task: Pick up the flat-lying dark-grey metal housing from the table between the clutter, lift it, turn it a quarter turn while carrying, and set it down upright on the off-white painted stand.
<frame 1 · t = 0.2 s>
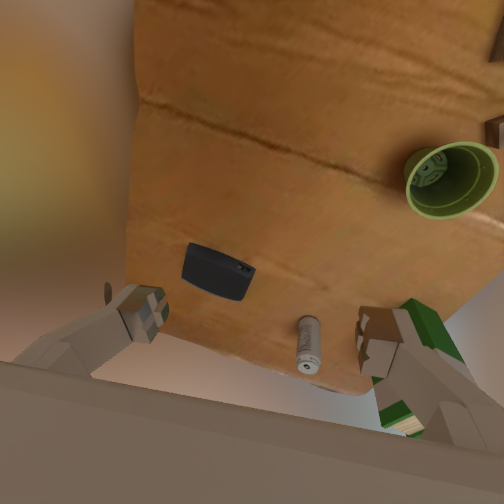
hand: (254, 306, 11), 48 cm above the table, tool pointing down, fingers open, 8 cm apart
external hard drive: (218, 270, 73), on the table
plant pot: (423, 166, 48), on the table
walnut block: (500, 128, 43), on the table
energy drink can: (309, 321, 75), on the table
hardback book: (397, 323, 69), on the table
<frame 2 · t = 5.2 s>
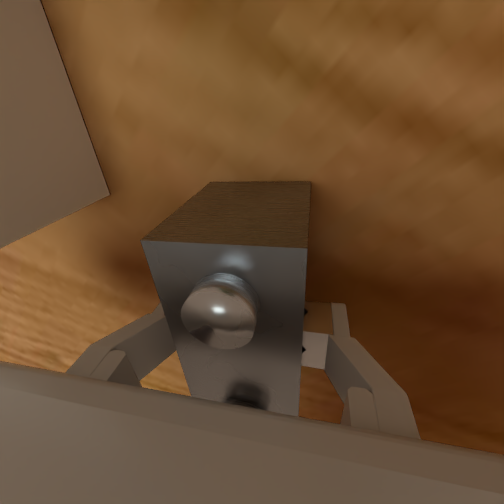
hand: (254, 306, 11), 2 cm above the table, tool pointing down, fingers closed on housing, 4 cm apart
housing: (263, 274, 12), on the table, touching gripper
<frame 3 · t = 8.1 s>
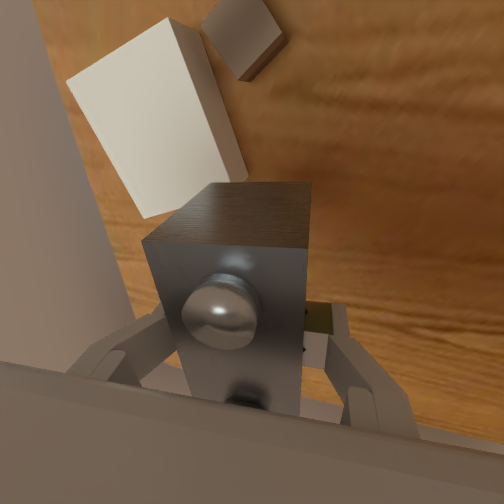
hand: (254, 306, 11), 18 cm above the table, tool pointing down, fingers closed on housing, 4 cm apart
housing: (264, 275, 12), point 16 cm above the table, touching gripper
walnut block: (253, 39, 20), on the table
stand: (182, 131, 25), on the table
when the fingers open (8 cm above the table, at t = 11.1 s): housing stays where it is, resting on stand.
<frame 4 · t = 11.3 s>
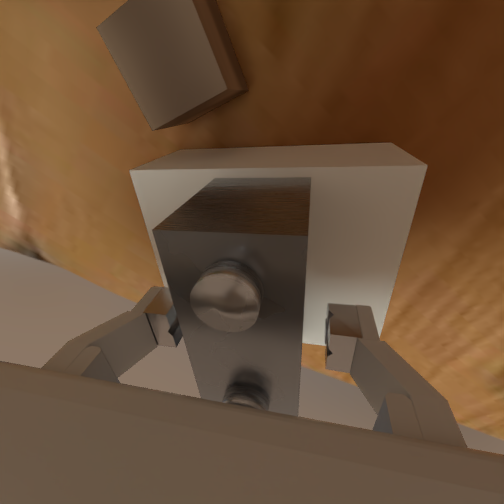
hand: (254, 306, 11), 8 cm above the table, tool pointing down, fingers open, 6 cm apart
housing: (265, 268, 13), point 5 cm above the table, touching stand
walnut block: (200, 67, 13), on the table
stand: (277, 225, 17), on the table
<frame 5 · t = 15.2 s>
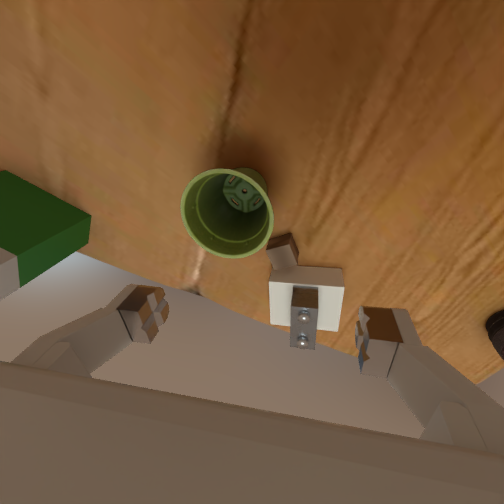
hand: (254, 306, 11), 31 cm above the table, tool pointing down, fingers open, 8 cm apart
housing: (304, 306, 44), point 5 cm above the table, touching stand
plant pot: (246, 189, 41), on the table
walnut block: (284, 245, 45), on the table
hardback book: (50, 208, 52), on the table
stand: (305, 288, 48), on the table
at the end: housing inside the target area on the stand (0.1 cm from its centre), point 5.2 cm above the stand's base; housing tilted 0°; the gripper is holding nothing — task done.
